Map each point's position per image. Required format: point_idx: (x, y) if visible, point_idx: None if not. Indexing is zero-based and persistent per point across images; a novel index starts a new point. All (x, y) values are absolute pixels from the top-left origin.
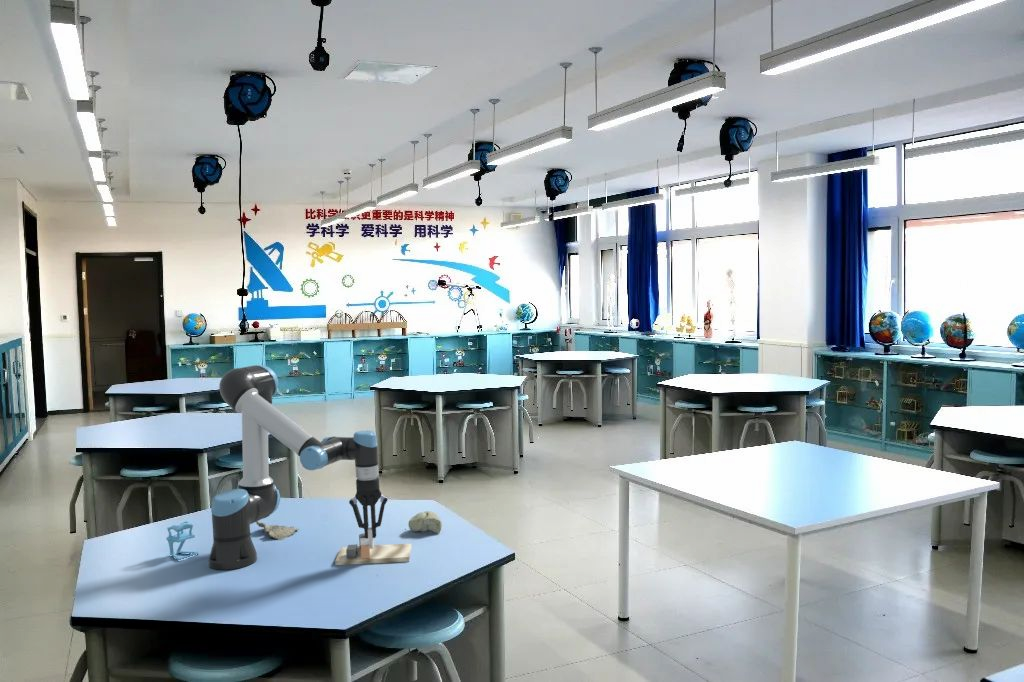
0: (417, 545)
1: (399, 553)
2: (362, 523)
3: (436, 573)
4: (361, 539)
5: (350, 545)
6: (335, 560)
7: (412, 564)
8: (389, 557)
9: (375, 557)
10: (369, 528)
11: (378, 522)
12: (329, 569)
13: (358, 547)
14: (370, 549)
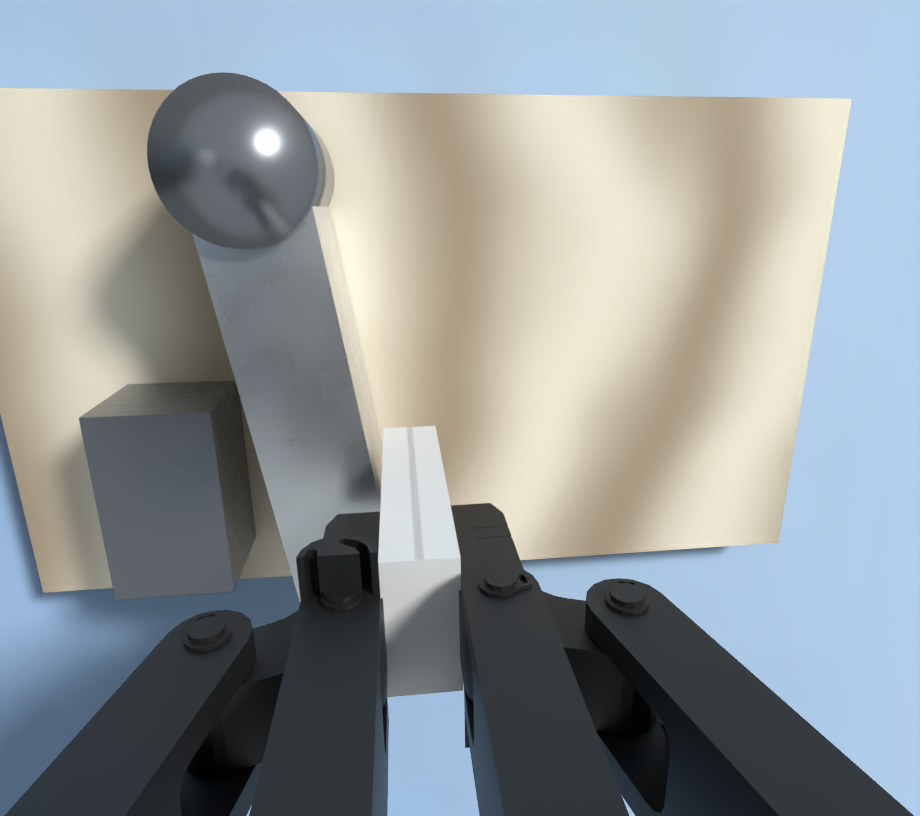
0: (889, 23)
1: (698, 438)
2: (250, 713)
3: (914, 755)
4: (243, 352)
5: (120, 446)
6: (44, 586)
7: (775, 586)
8: (601, 541)
9: None
10: (410, 636)
11: (631, 770)
12: (48, 659)
13: None
14: (369, 265)
